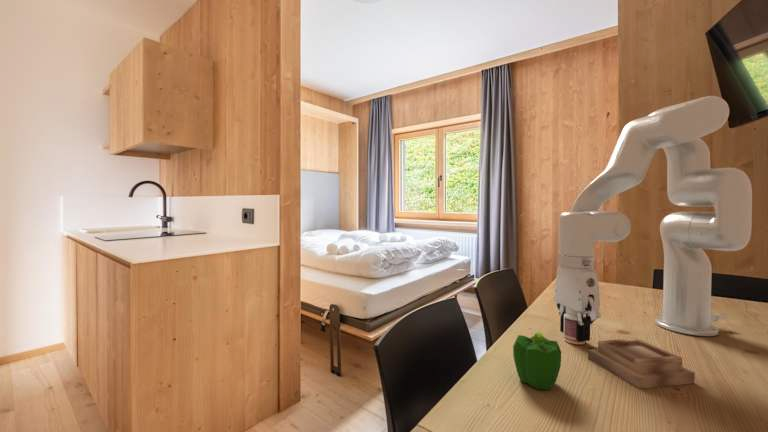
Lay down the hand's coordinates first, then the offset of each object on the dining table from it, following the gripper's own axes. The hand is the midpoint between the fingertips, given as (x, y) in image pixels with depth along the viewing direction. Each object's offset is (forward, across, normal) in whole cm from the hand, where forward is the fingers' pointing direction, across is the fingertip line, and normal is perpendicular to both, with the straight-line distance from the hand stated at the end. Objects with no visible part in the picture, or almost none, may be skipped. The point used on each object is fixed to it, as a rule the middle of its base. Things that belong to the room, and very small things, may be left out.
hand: (574, 335), depth 81 cm
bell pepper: (+2, -16, +21) cm, 26 cm away
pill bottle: (+2, 0, 0) cm, 2 cm away
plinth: (+1, -15, -2) cm, 15 cm away
